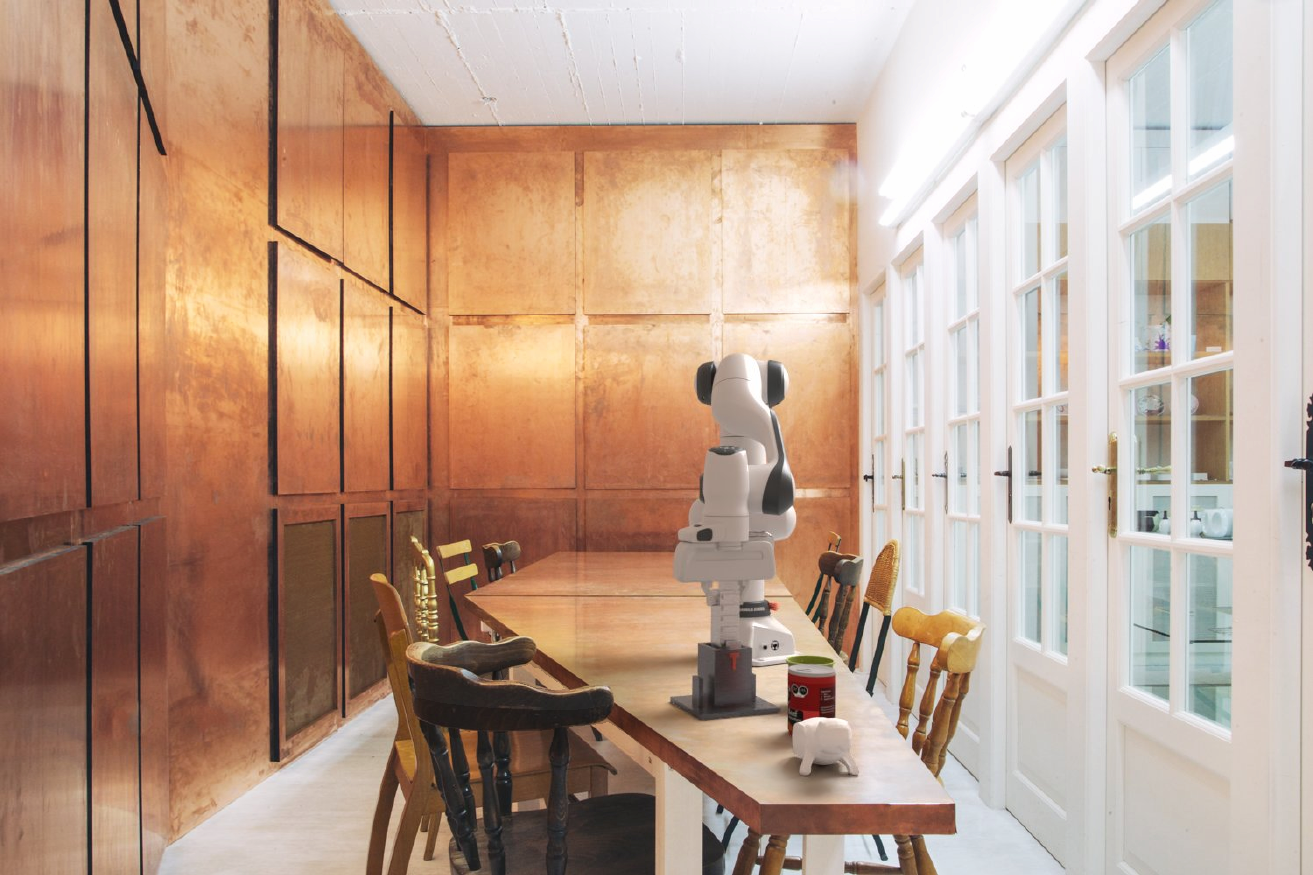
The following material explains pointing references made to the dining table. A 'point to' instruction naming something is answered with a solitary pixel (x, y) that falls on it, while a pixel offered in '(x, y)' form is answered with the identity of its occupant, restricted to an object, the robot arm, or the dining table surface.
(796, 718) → the canned food
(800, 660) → the plant pot
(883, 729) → the dining table surface
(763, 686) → the dining table surface
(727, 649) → the stand
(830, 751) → the white molar tooth
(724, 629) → the column
